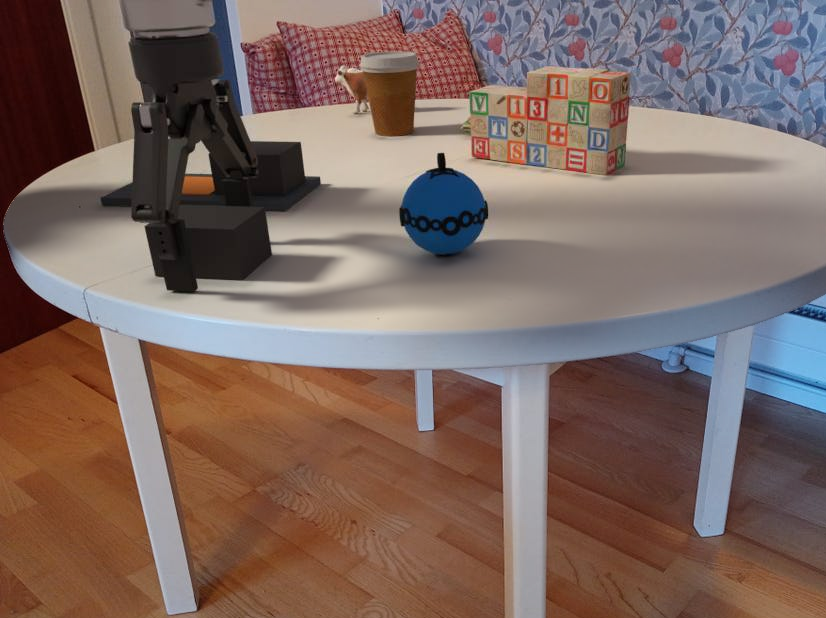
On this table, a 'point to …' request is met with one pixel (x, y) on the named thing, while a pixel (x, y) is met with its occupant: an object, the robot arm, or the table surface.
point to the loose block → (221, 240)
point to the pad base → (219, 199)
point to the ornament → (443, 210)
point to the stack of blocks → (555, 120)
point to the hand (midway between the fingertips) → (216, 263)
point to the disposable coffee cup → (391, 90)
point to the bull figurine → (354, 85)
